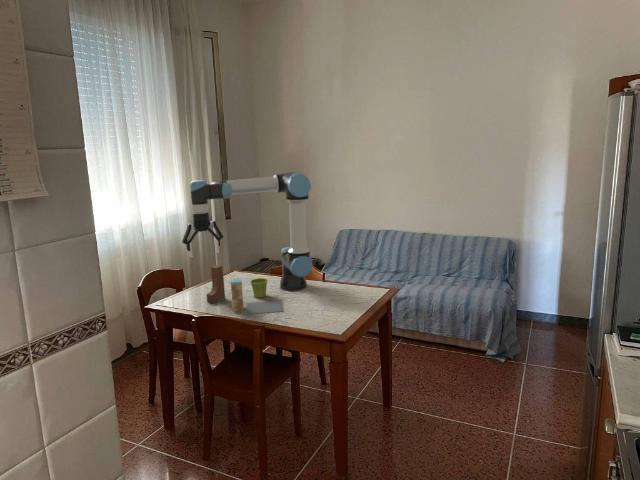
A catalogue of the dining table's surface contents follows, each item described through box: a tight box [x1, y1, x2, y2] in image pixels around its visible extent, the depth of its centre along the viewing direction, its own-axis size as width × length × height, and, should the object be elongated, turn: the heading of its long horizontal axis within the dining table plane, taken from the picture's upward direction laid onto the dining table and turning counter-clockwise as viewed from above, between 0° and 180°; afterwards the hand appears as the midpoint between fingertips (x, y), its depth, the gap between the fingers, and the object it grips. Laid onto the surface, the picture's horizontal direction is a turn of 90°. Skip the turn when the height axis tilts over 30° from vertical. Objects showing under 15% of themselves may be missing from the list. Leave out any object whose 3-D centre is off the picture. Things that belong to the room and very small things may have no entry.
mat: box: [245, 299, 284, 315], centre depth 233 cm, size 18×16×1 cm
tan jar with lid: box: [230, 278, 245, 313], centre depth 230 cm, size 5×5×15 cm
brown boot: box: [206, 264, 226, 304], centre depth 245 cm, size 9×4×18 cm, turn 145°
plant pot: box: [249, 277, 269, 299], centre depth 250 cm, size 9×9×9 cm
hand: (204, 254), depth 231 cm, fingers open, 13 cm apart
